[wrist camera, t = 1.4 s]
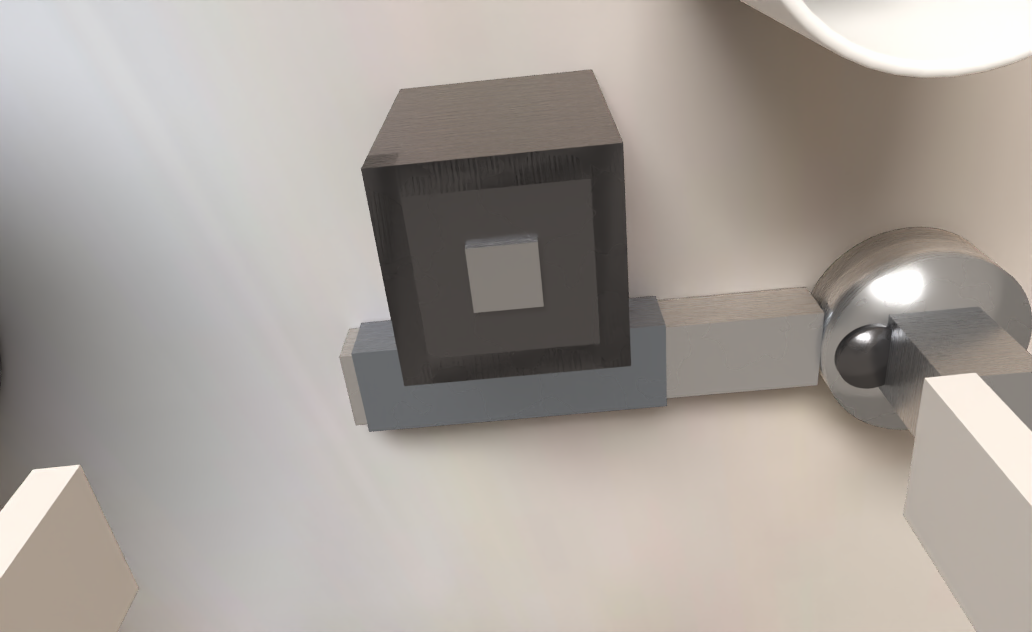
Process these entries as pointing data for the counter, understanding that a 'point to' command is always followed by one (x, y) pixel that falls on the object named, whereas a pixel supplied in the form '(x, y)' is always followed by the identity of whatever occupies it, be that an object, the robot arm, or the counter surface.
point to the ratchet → (760, 345)
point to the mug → (913, 32)
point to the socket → (502, 228)
